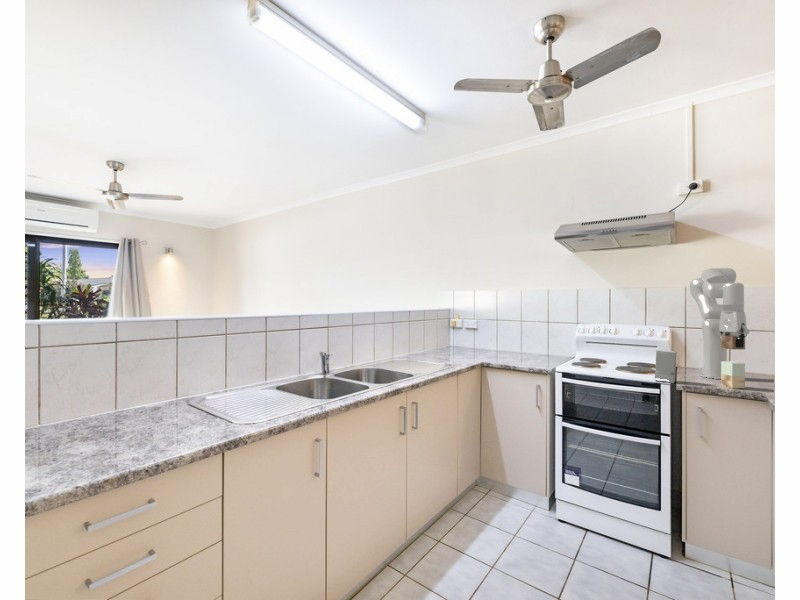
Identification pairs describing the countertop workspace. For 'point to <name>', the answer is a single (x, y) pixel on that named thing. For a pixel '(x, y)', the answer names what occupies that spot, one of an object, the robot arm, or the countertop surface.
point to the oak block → (733, 381)
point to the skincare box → (665, 365)
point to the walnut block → (729, 342)
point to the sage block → (732, 368)
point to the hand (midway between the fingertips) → (733, 346)
